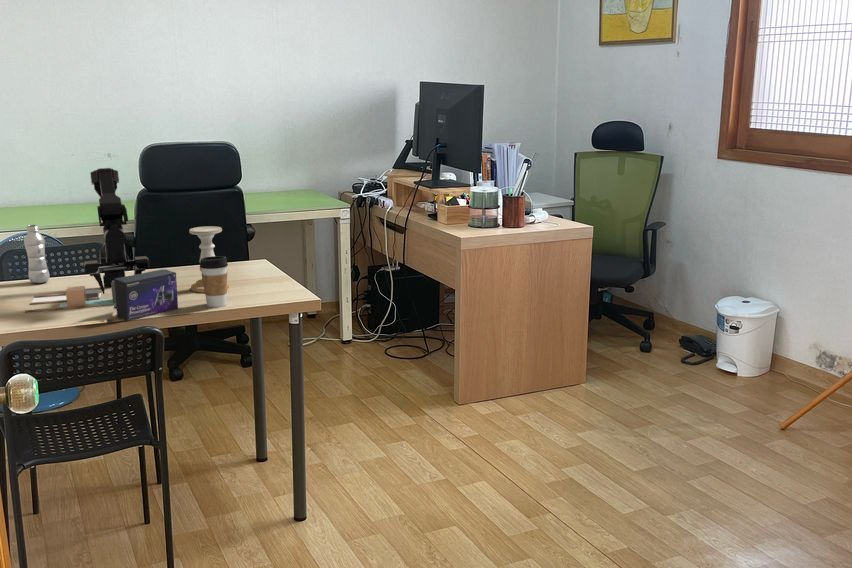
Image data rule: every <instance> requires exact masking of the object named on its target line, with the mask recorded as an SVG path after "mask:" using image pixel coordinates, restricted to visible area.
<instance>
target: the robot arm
mask: <svg viewBox="0 0 852 568" xmlns="http://www.w3.org/2000/svg"><path fill="white" fill-rule="evenodd" d="M90 183H91V186H92V185H93V190H94V192H95V193H96V194H97V195H98V197H99V199H98V205H97V206H96V207H97V208H96V210H97V217H98V223H99V224H98V225H99V227H103V228H102V230H103V231H102V232H103V241H104V244H103V245H102V247H99V262H98V260H88V261H87V260H86V261H84V262H83V271H84V274H85V275H87V274H88V275H89V276H90V277H94V279H95V280H96V283H98V287H99V288H100V290H102V294H103V295H104V294H105V293H106V292H105V288H111V283H112V281H113V280H114V279H115V278H120V277H126V272H128V271H130V270H131V267H133V269H134V271H133V275H136V274H141V273H143V272H145V271H146V269H149V268H151V267H150V260H149V257H147V256H146V255H143V256H142V255H141V256H134V259H132V260H131V259H130V256H128V253H127V252H126V245H125V243H126V240H127V236H126V233H125V232H124V227H123V226H125V225H128V224H127V223H128V222H129V217H128V216H129V215H128V210H127V207H126V205H125V204H122V200H121V197H120V196H118V195H116V191H117V189H118V184H119V183H120V178H119V170H117V169H113V168H110V167H104V168H97V169H95V170H93V171H90ZM101 274H103V276H101Z"/></svg>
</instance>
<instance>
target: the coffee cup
mask: <svg viewBox="0 0 852 568" xmlns="http://www.w3.org/2000/svg"><path fill="white" fill-rule="evenodd" d="M228 266H229V265H228V260H227V256H220V255H219V256H216V255H215V256H212V257H205V258H202V259H201V260H200V259H199V269H200V268H201V270H202V272H201V279H202V280H203V285H204V291H205V293H204V295H205V302H206V306H207V307H209V308H221V307H224V306H227V304H228V295H227V293H228V289H227V282H228V271H227V270H228V269H227V267H228Z"/></svg>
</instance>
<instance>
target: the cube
mask: <svg viewBox="0 0 852 568" xmlns="http://www.w3.org/2000/svg"><path fill="white" fill-rule="evenodd" d="M65 293H66V295H65V296H66V298H67V307H71V306H84V305H86V302H87V301H88V300H86V285H79V286H78V285H77V286H67V287H66V289H65Z"/></svg>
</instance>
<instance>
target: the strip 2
mask: <svg viewBox="0 0 852 568" xmlns="http://www.w3.org/2000/svg"><path fill="white" fill-rule="evenodd" d="M110 288H111V297H112V298H103V299H99V300H87V302H86V305H96V304H97V306H104V305H105V306H107V305H108V306H109V305H114V306H113V307H114V308H116V294H115V281H114V280H113V281H112V283H111V287H110ZM59 307H67V302H62V303H59V306H58V308H59Z"/></svg>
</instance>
